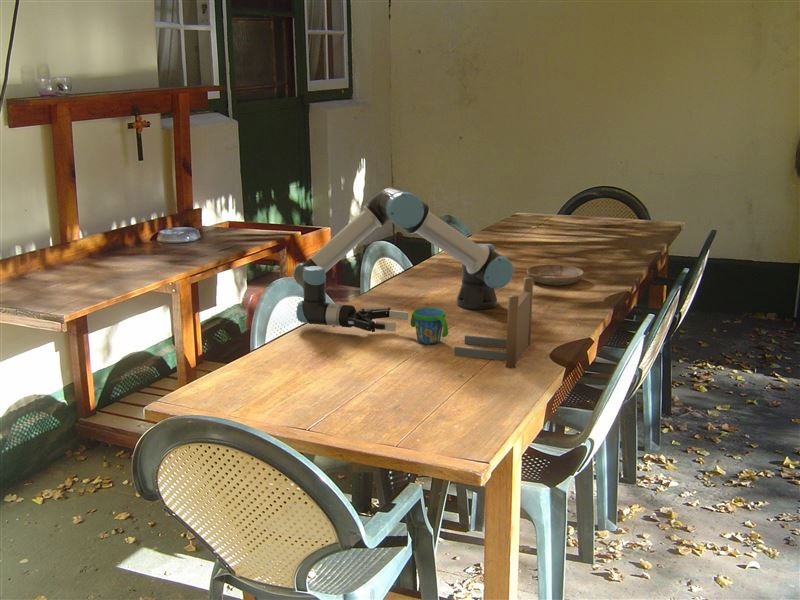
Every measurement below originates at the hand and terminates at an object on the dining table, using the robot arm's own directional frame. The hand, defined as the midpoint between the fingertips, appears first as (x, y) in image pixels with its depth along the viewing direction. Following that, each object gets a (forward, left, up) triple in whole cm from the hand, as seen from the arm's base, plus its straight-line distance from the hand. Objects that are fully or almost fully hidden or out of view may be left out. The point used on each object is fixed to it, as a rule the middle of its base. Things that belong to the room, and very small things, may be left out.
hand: (401, 321), depth 307 cm
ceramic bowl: (-95, +35, -6) cm, 102 cm away
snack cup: (0, +9, -6) cm, 11 cm away
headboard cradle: (+4, +31, -6) cm, 32 cm away
